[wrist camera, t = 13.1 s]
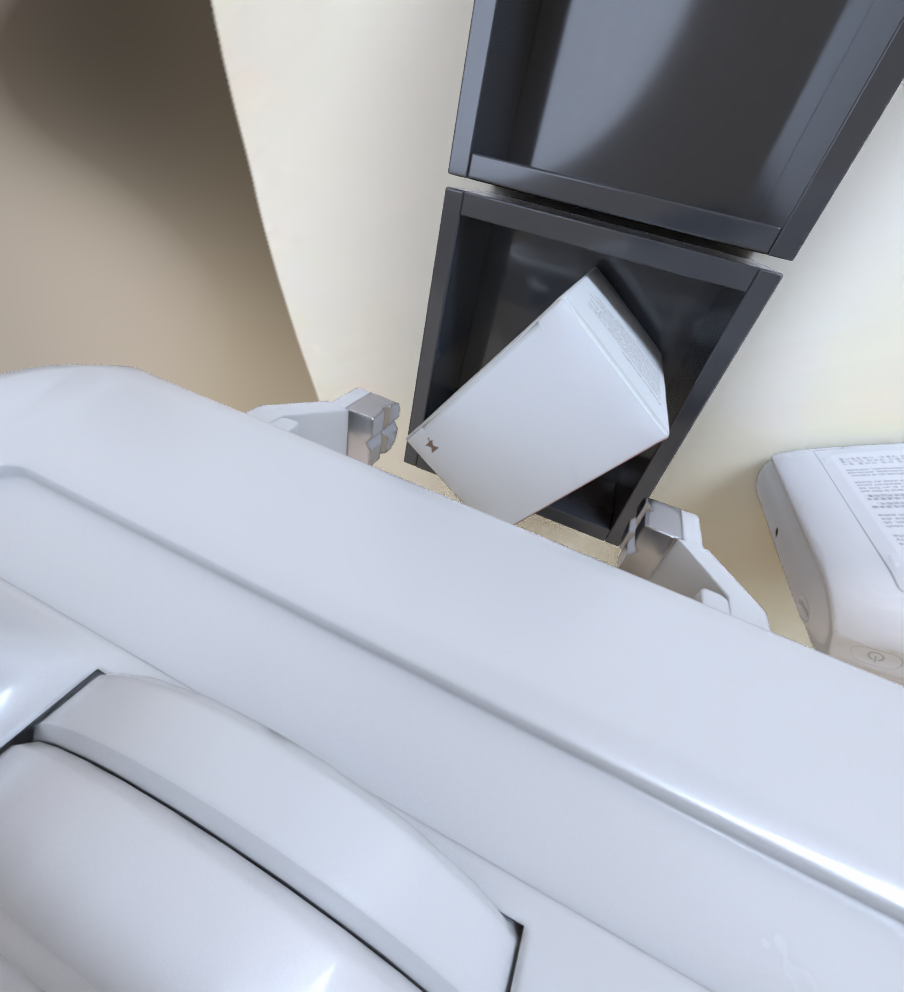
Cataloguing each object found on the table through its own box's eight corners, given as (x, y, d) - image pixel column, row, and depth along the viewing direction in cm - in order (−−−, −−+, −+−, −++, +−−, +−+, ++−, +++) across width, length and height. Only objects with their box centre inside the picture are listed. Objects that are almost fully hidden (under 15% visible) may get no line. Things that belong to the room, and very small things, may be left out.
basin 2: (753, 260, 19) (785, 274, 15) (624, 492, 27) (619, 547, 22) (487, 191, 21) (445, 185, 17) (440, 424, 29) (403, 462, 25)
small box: (540, 439, 26) (490, 542, 18) (481, 368, 25) (399, 442, 17) (666, 353, 21) (675, 441, 13) (598, 261, 20) (563, 293, 12)
